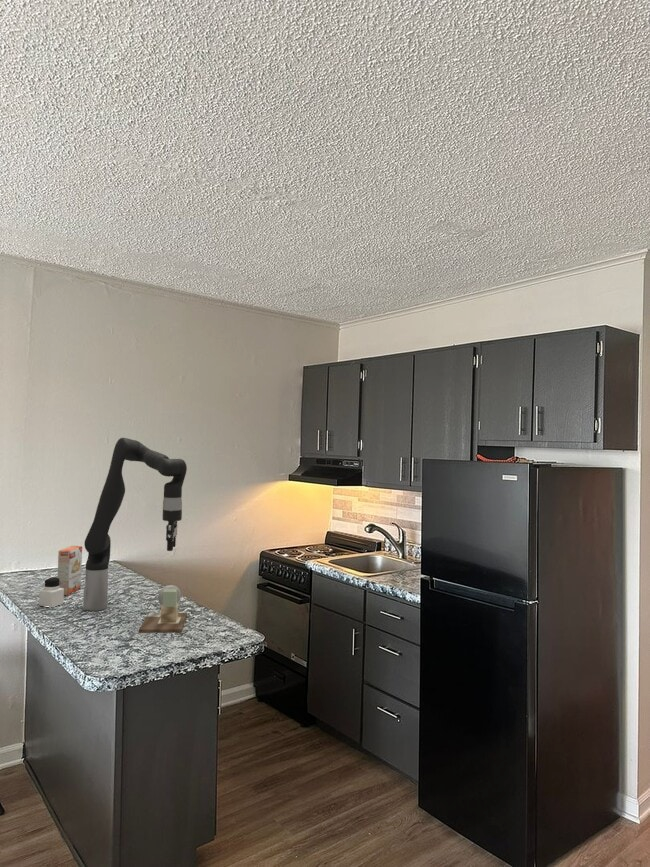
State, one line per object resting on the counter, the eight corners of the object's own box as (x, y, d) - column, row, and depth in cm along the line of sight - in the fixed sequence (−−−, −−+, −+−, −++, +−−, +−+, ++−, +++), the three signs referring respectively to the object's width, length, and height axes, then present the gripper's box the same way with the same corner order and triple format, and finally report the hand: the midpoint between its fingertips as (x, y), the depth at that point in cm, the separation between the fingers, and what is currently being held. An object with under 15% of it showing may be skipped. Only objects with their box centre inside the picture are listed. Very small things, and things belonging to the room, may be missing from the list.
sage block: (162, 607, 244) (163, 591, 244) (164, 603, 249) (164, 588, 249) (175, 606, 244) (175, 591, 245) (177, 603, 249) (177, 588, 249)
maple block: (160, 622, 243) (161, 607, 243) (162, 618, 249) (163, 603, 249) (176, 622, 244) (176, 607, 244) (177, 618, 250) (178, 603, 250)
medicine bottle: (63, 604, 270) (64, 577, 270) (51, 608, 263) (52, 580, 264) (50, 602, 273) (51, 575, 273) (38, 606, 266) (39, 578, 266)
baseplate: (138, 632, 234) (138, 629, 235) (148, 615, 256) (148, 612, 256) (181, 632, 236) (181, 628, 236) (187, 615, 258) (187, 612, 258)
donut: (158, 610, 265) (159, 587, 265) (156, 608, 268) (157, 585, 268) (181, 607, 270) (182, 584, 270) (179, 605, 273) (180, 583, 273)
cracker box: (69, 596, 284) (70, 550, 284) (56, 595, 284) (57, 550, 284) (81, 588, 298) (82, 545, 298) (69, 588, 298) (70, 545, 298)
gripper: (165, 506, 253) (164, 545, 253) (160, 510, 239) (159, 552, 239) (183, 506, 254) (182, 545, 254) (179, 510, 240) (178, 552, 240)
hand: (171, 548), depth 247 cm, fingers open, 8 cm apart
